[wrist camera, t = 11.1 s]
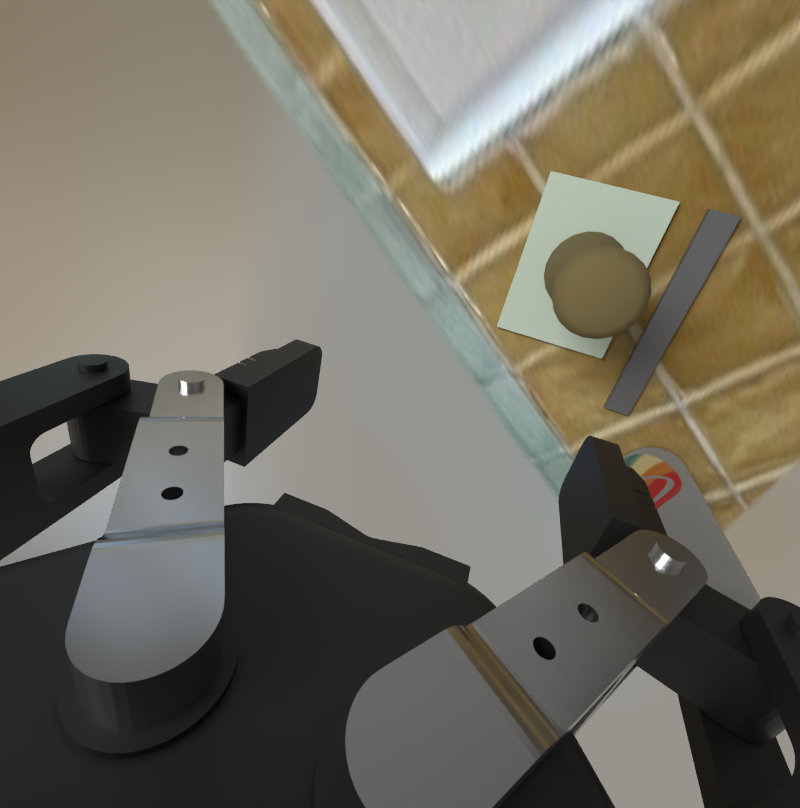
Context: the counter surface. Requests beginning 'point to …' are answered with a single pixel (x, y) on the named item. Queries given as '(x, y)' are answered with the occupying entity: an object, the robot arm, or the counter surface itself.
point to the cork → (596, 285)
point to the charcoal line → (672, 308)
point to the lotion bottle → (692, 521)
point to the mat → (564, 217)
